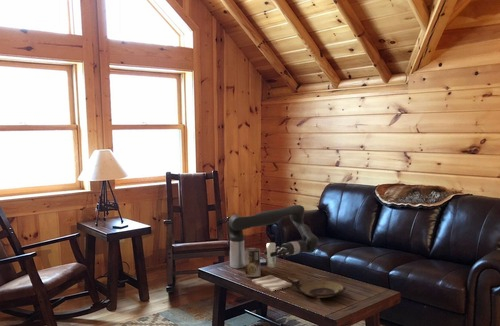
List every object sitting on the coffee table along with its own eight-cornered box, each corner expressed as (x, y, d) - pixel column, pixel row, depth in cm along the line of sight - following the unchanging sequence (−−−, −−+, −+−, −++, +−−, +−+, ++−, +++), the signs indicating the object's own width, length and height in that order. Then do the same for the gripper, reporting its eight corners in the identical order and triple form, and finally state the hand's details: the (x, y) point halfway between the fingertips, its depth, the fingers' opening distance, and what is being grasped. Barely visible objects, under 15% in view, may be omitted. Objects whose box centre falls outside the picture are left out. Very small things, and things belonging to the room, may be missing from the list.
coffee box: (260, 273, 265) (260, 247, 264) (260, 277, 259) (259, 250, 258) (246, 273, 266) (245, 247, 265) (244, 276, 260) (244, 250, 259)
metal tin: (265, 265, 247) (264, 243, 246) (272, 264, 249) (271, 241, 248) (270, 267, 242) (270, 245, 241) (277, 266, 245) (277, 243, 244)
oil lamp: (329, 308, 212) (329, 293, 211) (282, 293, 233) (282, 279, 232) (353, 295, 228) (353, 281, 227) (307, 282, 249) (307, 269, 248)
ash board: (251, 281, 250) (251, 279, 250) (271, 277, 258) (270, 275, 258) (272, 291, 235) (272, 289, 235) (291, 285, 243) (291, 283, 243)
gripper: (282, 240, 259) (259, 244, 249) (298, 244, 247) (275, 250, 238) (282, 252, 260) (260, 257, 250) (298, 257, 248) (275, 263, 238)
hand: (267, 253), depth 244 cm, fingers closed on metal tin, 5 cm apart
